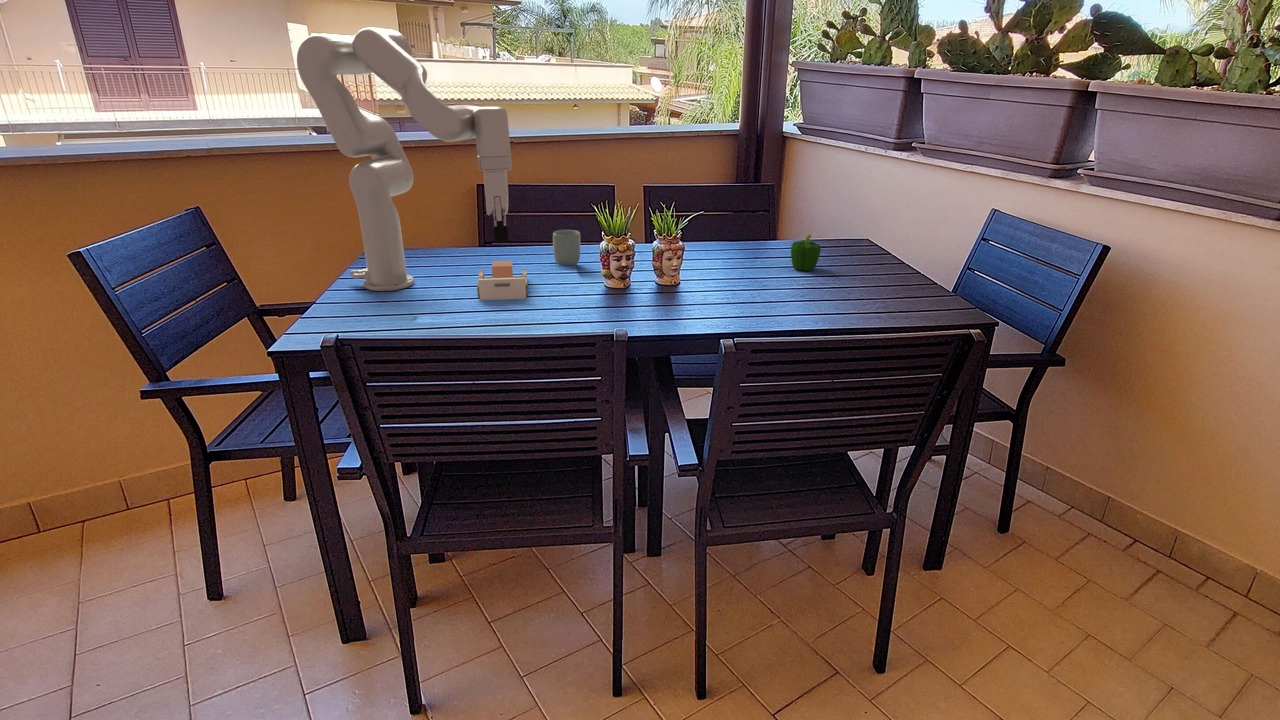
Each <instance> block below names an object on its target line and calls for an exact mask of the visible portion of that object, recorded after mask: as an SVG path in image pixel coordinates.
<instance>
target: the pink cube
mask: <svg viewBox="0 0 1280 720" xmlns="http://www.w3.org/2000/svg"><path fill="white" fill-rule="evenodd" d="M513 267H514V266H513V260H495V261H494V260H493V261H492V263H491V273H492V276H491V277H493V278H513V276H514V269H513Z"/></svg>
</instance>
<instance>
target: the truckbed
mask: <svg viewBox="0 0 1280 720" xmlns="http://www.w3.org/2000/svg"><path fill="white" fill-rule="evenodd" d="M527 274H528V273H527V268H522V275H513V278H519V277H525V288H526V298H527V297H529V294H528V292H529V291H528V290H529V288H528V287H529V286H528V275H527ZM489 278H493V276H485V272H484V270H483V269H482V270H481V269H480V270H479V274H478V279H489ZM478 279H477V284H476V285H477V286H476V288H477V299H479V300H480V293H479V281H478Z"/></svg>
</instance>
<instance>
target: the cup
mask: <svg viewBox="0 0 1280 720" xmlns="http://www.w3.org/2000/svg"><path fill="white" fill-rule="evenodd" d="M552 248H553V257H554V261H555V263H556V264H558V265H564V266H565V265H566V266H568V265H570V266H571V265H575V267H577V265H578V264H579V263H580V258H581V232H580V231H579V230H574V229H559V230H554V231H553V233H552Z"/></svg>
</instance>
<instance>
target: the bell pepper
mask: <svg viewBox="0 0 1280 720" xmlns="http://www.w3.org/2000/svg"><path fill="white" fill-rule="evenodd" d="M811 238H812V235H811V234H809V233H808V234H807V236H806V238H805V240H803V239H802V240H800V241H794V242H792V244H791V247H790V257H791V264H792V267H793V269H794V270H797V271H805V272H810V271H811V272H812V271H814V270H815V268H816V266H817V264H818V261H819V259H820V256H821V245H820V244H819V243H816V242H815V241H813V240H812V241H810V239H811Z"/></svg>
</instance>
